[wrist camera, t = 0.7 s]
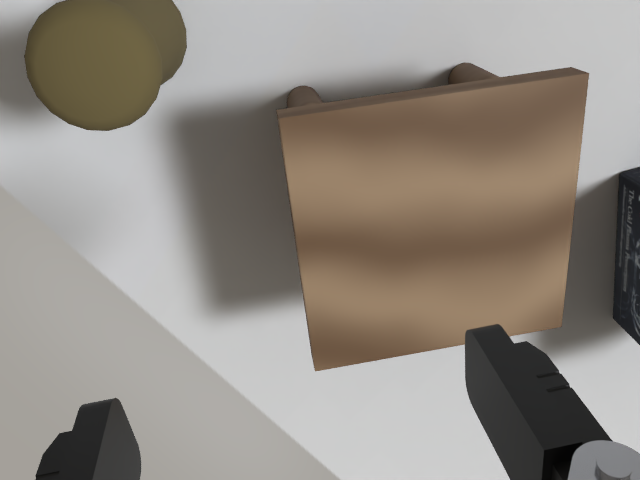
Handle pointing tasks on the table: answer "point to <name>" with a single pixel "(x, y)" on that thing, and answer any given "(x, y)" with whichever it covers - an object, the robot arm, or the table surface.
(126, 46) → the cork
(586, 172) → the table surface
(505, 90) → the stool
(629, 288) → the small box
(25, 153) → the table surface
